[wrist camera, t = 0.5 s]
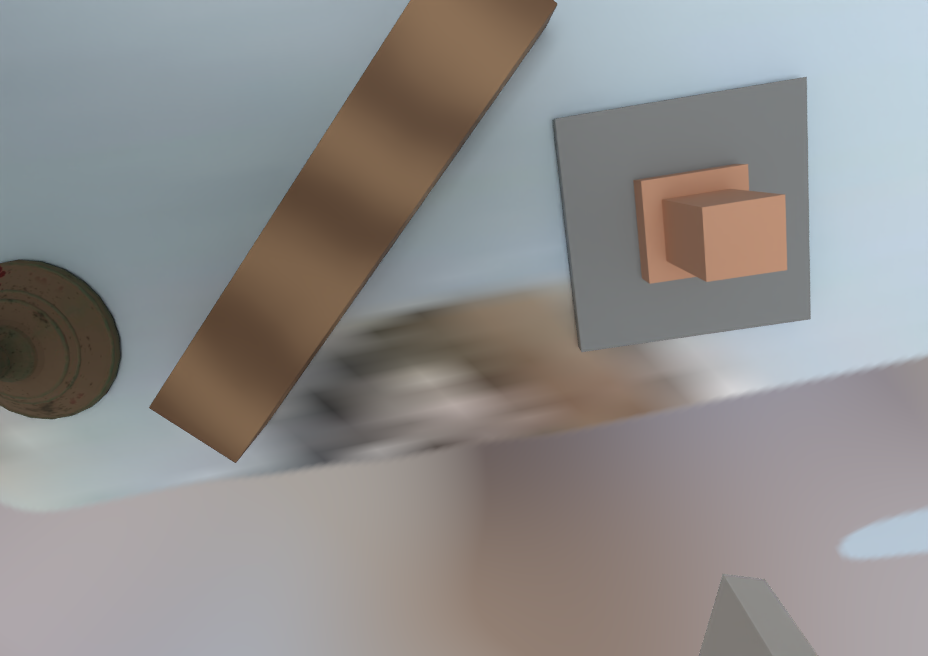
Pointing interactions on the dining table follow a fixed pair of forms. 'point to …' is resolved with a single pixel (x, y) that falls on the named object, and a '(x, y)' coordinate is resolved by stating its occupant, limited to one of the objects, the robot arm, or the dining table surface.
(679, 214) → the fulcrum
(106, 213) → the dining table surface
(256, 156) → the dining table surface
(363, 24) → the dining table surface
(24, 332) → the candlestick holder
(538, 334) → the dining table surface
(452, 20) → the bar
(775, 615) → the robot arm
